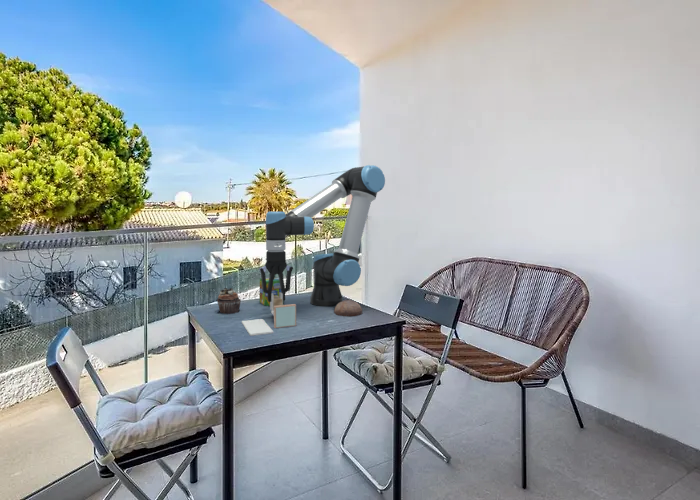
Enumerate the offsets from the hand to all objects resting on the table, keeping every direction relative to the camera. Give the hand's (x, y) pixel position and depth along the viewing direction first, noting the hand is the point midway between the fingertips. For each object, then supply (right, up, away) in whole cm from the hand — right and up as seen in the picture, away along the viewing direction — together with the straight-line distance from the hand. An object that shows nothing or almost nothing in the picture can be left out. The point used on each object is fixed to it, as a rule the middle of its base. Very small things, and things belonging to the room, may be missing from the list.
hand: (276, 309), depth 162 cm
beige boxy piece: (+1, -1, -2) cm, 2 cm away
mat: (-5, -5, -13) cm, 15 cm away
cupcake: (-22, -3, +10) cm, 24 cm away
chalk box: (-7, -1, +26) cm, 27 cm away
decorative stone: (+29, -3, +9) cm, 30 cm away
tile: (+5, -5, -11) cm, 13 cm away
